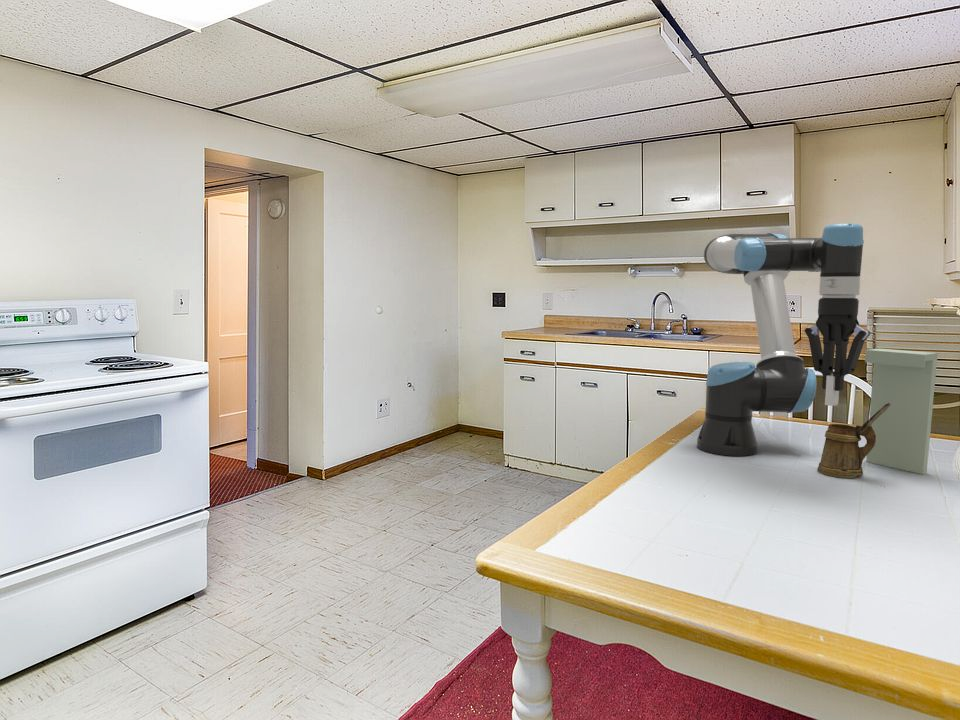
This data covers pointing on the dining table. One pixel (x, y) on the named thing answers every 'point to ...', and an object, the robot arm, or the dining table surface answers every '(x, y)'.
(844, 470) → the wooden mug
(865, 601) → the dining table surface
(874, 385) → the sage green upright panel
